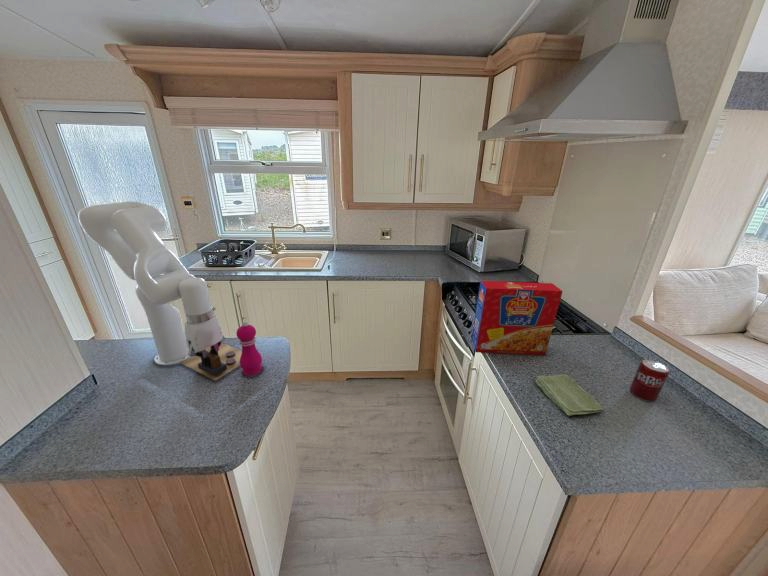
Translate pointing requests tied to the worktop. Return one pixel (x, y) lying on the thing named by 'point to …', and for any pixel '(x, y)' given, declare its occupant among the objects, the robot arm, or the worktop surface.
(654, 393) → the soda can
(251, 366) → the pepper mill
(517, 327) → the pasta box
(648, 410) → the worktop surface
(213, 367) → the eraser
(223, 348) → the cutting board
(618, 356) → the worktop surface
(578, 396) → the washcloth
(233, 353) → the crumb
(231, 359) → the crumb
